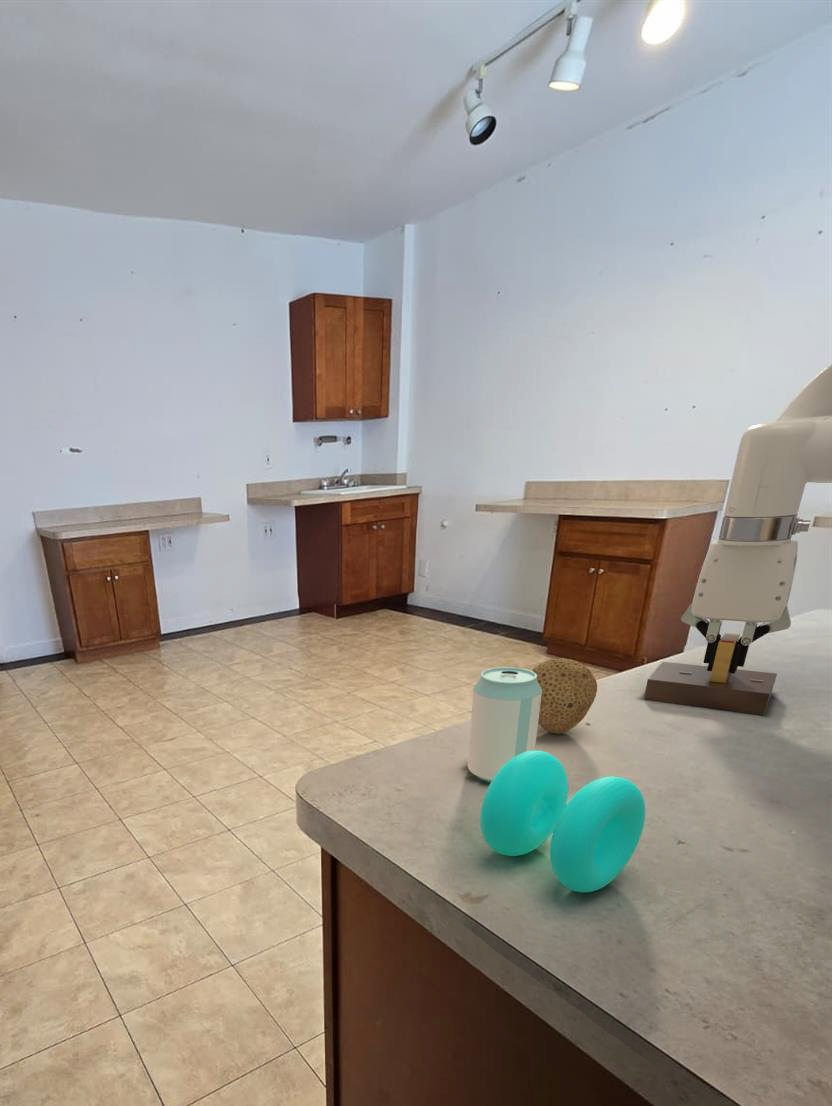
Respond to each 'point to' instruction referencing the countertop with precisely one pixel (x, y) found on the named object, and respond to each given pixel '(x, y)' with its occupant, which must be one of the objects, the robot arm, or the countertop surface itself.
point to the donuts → (563, 819)
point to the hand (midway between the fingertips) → (722, 668)
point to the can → (502, 719)
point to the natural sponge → (564, 693)
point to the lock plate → (710, 688)
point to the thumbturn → (724, 657)
